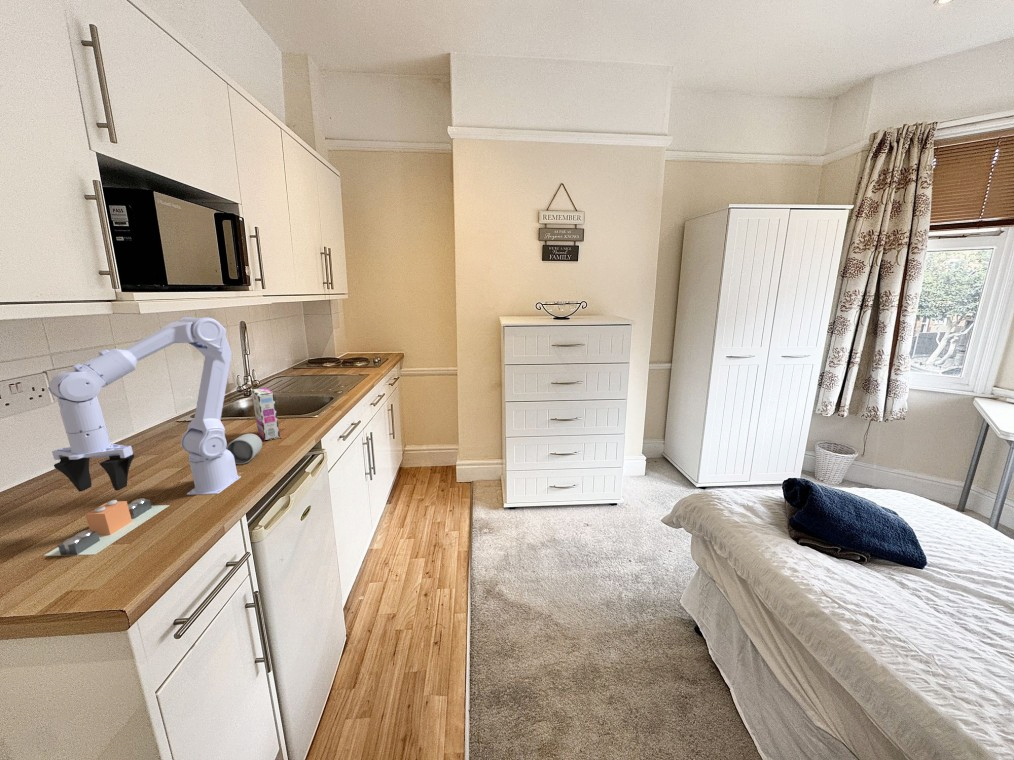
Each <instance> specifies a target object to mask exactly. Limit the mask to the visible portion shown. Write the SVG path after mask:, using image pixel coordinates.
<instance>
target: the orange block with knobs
mask: <svg viewBox="0 0 1014 760" xmlns="http://www.w3.org/2000/svg"><path fill="white" fill-rule="evenodd" d="M128 504H129V503H128V501H127V500H126V501H125V500H124V501H123V500H120V501H118V500H117V499H112V500H109V501H107V502H105V503H103V504H101V505H100V506H98V507H95V508H94V509H92V510H90V511H88V512H87V513H85V519H86V521H87V525H88V529H90V530H92V531H97V532H98V535H111V534H113V533H115V532H116V531H118V530H119V529H121V528H122V527H124V526H126V525H127V524H129V523H130V522H132V519H131V516H130V512H129V508H128Z"/></svg>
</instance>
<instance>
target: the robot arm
mask: <svg viewBox="0 0 1014 760" xmlns="http://www.w3.org/2000/svg"><path fill="white" fill-rule="evenodd" d="M184 343H185V344H189V345H191V346H193V347H194V348H196V350H198V352H199V353H200V354H202V356H204V362H203V367H202V374H201V378H200V385H199V391H198V395H197V401H196V407H195V413H194V418H193V419H191V421H190V422H189V423H188V424H187V430H186V432H185V433H184V434H183V435H182V437H181V439H180V445H181V448H182V449H183V450H184V451H185V452H188V454H189V455H188V462H189V466H190V472H191V475H192V479H193V483H194V488H192V489H191V490H190V491H188V492H187V493H186V496H189V495H190V496H191V495H199V496H200V495H218V494H220V493H221V492H223V491H224V490H225V489H227V488H228V487H229V486H231V485H233V483H235V482H236V481H238V480H239V479H240V478H241V477H242V476H241V475H238V469H237V464H235V459H234V456H233V454H232V453H231V452H230V451H229V450H227V449H226V447H227V445H228V443H227V439H226V429H225V426H224V424H223V422H222V421H221V419H222V413H223V406H224V400H225V394H226V390H227V383H228V377H229V371H230V368H231V367H230V366H231V360H232V356H233V354H232V349H231V346H230V344H229V341H228V339H227V329H226V328H225V327H224V326H223V325H222V324H221V323H220V322H219V321H218V320H216V319H215V318H212V317H194V316H193V317H192V316H186V317H183V318H180V319H179V320H177V321H173V322H170V323H168V324H167V325H165V326H163V327H161V328H160V329H158V330H157V331H154V332H153V333H151V334H150V335H148V336H146V337H144V338H142V339H140V340H138V341H137V342H135V343H134V344H131V345H130V346H128V347H127V348H125V349H120V348H111V349H109V350H108V349H105V348H104V349H102V350H99V351H98V352H97V353H98V354H99V355H97V356H95V357H93V358H92V359H89V360H87V361H85V362H84V363H81V364H80V363H76V364H74V365H72V368H73V370H64V371H61V372H58V373H56V374H55V375H54V376H53V377H52V378H51V380H50V381H49V386H48V387H47V390H48V391H49V393H50V394H51V395H53V396H54V397H55V398H57V402H58V406H59V413H60V416H61V419H62V423H63V426H64V430H65V432H66V436H67V440H68V443H69V447H60V448H57V449H55V450H53V451H51V453H52V456H53V459H54V461H58V462H57V463H54V465H53V467H54V469H56V470H57V471H59V472H60V473H62V474H63V475H64V476H65V477H66V478H68V480H69V481H70V482H71V483H72V484H73V486H74V487H75V488H76V490H77V491H78V492H84V491H85V490H88V489H90V488H92V478H91V473H90V459H91V458H93V459H94V458H108V459H105V460H103V461H101V462H99V465H100V466H101V467H102V469H104V471H105V472H106V474H107V476H108V477H109V479H110V481H111V482H110V483H111V486H112V487H113V489H114V491H116V492H117V491H120V490H122V489H124V488H126V487H127V486H128V478H129V477H128V476H129V471H130V466H131V464H132V462H133V460H134V458H135V454H134V451H133V447H132V445H123V444H117V443H116V444H115V443H112V442H111V439H110V437H109V432H108V429H107V426H106V420H105V418H104V413H103V410H102V406H101V404H100V401H99V398H98V395H99V394H100V392H101V389H102V388H106V387H107V386H109V385H110V384H112V383H114V382H116V381H118V380H120V379H121V378H123V377H125V376H127V375H128V374H130V373H132V372H134V371H135V370H136V368H137V365H138V362H139V361H141V360H144V359H145V358H147V357H150V356H151V355H154V354H156V353H157V352H159V351H161V350H163V349H166V348H167V347H169V346H171V345H173V344H184Z"/></svg>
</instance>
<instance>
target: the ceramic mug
mask: <svg viewBox="0 0 1014 760" xmlns="http://www.w3.org/2000/svg"><path fill="white" fill-rule="evenodd" d="M262 447H263V441H262V439H261V438H260V437H259V436H258V435H257V434H254V433H245V434H242V435H240V436H238V437H237V438H235V439H233V440H232V441H230V442H229V443H227V446H226V449H227V450H229V451H230V452H231V453H232V454H233V456H234V459H235V465H245V464H248V463H249V462H251V460H252V459H254V458H255V457H256V455H257V454H259V452H260V451H261V450H262Z"/></svg>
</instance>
